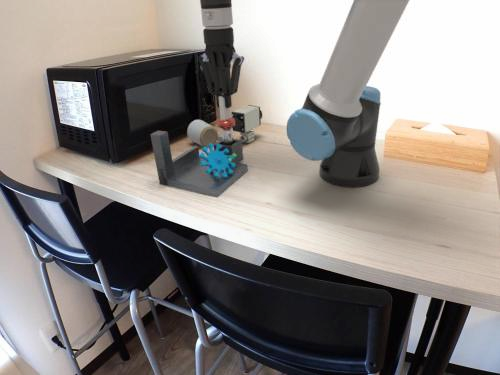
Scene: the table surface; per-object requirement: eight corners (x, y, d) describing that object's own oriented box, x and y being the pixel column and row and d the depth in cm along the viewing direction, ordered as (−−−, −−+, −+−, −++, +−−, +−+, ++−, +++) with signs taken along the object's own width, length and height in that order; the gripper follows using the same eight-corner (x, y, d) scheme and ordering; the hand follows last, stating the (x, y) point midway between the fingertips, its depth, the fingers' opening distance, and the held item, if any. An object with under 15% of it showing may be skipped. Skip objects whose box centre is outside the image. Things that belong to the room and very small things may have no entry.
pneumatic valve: (263, 137, 125) (262, 102, 120) (242, 148, 117) (239, 111, 112) (250, 134, 128) (248, 100, 123) (229, 145, 120) (226, 109, 115)
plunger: (240, 148, 108) (238, 118, 104) (231, 154, 104) (229, 123, 100) (225, 145, 110) (222, 116, 106) (216, 152, 106) (213, 121, 102)
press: (258, 161, 108) (256, 115, 101) (217, 197, 90) (211, 143, 84) (206, 153, 115) (201, 109, 109) (159, 184, 98) (150, 134, 92)
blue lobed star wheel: (210, 179, 91) (195, 144, 93) (201, 189, 95) (186, 155, 97) (245, 171, 97) (230, 139, 99) (235, 181, 102) (221, 149, 104)
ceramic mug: (201, 150, 117) (199, 127, 114) (188, 144, 123) (185, 122, 120) (228, 142, 123) (226, 120, 120) (214, 136, 129) (212, 115, 125)
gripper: (187, 28, 91) (198, 120, 103) (233, 28, 86) (239, 125, 97) (204, 25, 97) (213, 112, 108) (248, 25, 92) (252, 117, 103)
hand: (225, 118), depth 103 cm, fingers closed
